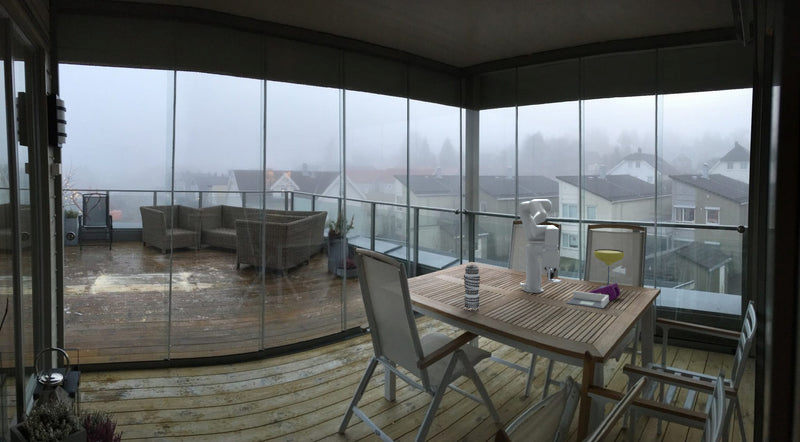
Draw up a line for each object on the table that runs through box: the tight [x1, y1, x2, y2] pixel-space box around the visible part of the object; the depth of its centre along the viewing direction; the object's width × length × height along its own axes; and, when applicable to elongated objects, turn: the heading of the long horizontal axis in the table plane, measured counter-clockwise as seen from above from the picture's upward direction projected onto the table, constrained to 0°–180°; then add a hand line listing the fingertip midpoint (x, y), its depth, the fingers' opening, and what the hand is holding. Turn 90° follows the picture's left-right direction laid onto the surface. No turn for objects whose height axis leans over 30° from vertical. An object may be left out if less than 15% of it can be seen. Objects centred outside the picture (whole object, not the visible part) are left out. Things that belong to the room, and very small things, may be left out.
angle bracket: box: [547, 268, 562, 284], centre depth 271 cm, size 6×6×7 cm
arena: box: [566, 290, 610, 310], centre depth 271 cm, size 20×15×5 cm
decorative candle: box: [463, 264, 481, 309], centre depth 262 cm, size 9×9×25 cm
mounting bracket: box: [586, 282, 621, 302], centre depth 284 cm, size 9×8×18 cm
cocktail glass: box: [593, 248, 625, 288], centre depth 307 cm, size 18×18×25 cm
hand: (550, 278), depth 272 cm, fingers closed on angle bracket, 1 cm apart
